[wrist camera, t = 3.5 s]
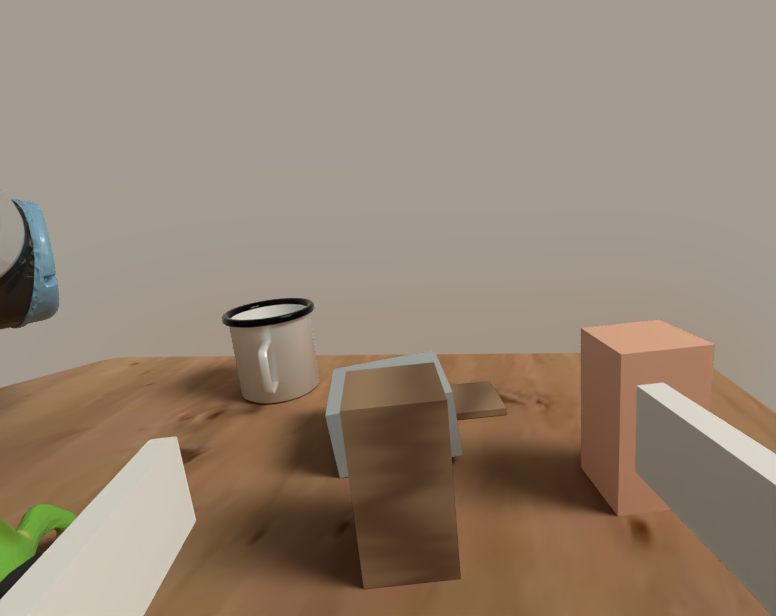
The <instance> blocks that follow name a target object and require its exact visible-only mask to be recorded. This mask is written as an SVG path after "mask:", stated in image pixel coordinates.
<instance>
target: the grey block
mask: <svg viewBox="0 0 776 616" xmlns="http://www.w3.org/2000/svg"><path fill="white" fill-rule="evenodd" d="M431 362H434V364H435V367H436V369H437V372H438V375H439V378H440V381H441V384H442V386H443V389H444V392H445V395H446V398H447V403H448V416H449V430H450V443H451V456H452V457H455V456H460V455H463V454H462V448H461V442H460V435H459V429H458V423H457V417H456V411H455V404H454V398H453V392H452V390H451V387H450V385H449V383H448V381H447V378H446V376H445V374H444V371H443V369H442V367H441V365H440V362H439V360H438V358H437V356H436V353H435V351H434V350H433V351H427V352H422V353H417V354H411V355H406V356H401V357H395V358H390V359H385V360H379V361H374V362H369V363H364V364H358V365H353V366H348V367H342V368H337V369H334V371H333V376H332V382H331V387H330V393H329V398H328V404H327V409H326V414H325V417H326V421H327V426H328V430H329V434H330V438H331V443H332V447H333V451H334V455H335V460H336V464H337V468H338V472H339V476H340V478H344V477H349V476H348V468H347V461H346V454H345V446H344V439H343V432H342V424H341V417H340V406H341V400H342V394H343V387H344V381H345V375H346V371H354V370H364V369H373V368H383V367H392V366H402V365H412V364H421V363H431Z"/></svg>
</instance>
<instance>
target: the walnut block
mask: <svg viewBox="0 0 776 616" xmlns="http://www.w3.org/2000/svg"><path fill="white" fill-rule="evenodd" d="M340 417H341V424H342V432H343V439H344V446H345V454H346V461H347V468H348V476H349V483H350V491H351V498H352V505H353V513H354V520H355V527H356V535H357V542H358V550H359V557H360V564H361V572H362V579H363V586H364V589H371V588H380V587H390V586H399V585H408V584H418V583H427V582H437V581H446V580H455V579H461V575H460V562H459V549H458V536H457V522H456V509H455V496H454V483H453V469H452V456H451V443H450V430H449V416H448V403H447V398H446V395H445V392H444V389H443V386H442V384H441V381H440V378H439V375H438V372H437V369H436V367H435V364H434V362H431V363H421V364H412V365H402V366H392V367H383V368H373V369H364V370H354V371H346V375H345V381H344V387H343V394H342V400H341V406H340Z"/></svg>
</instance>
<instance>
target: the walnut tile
mask: <svg viewBox="0 0 776 616" xmlns="http://www.w3.org/2000/svg"><path fill="white" fill-rule="evenodd" d="M450 387H451V390H452V392H453V398H454V404H455V411H456V417H457V420H460V419H469V418H479V417H488V416H498V415H507V412H506V407H505V405H504V404H503V402H502V400H501V399H500V397H499V395H498V394H497V392H496V391H495V389H494V387H493V386H492V384H491V382H490V381H485V382H476V383H466V384H457V385H450Z"/></svg>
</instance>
